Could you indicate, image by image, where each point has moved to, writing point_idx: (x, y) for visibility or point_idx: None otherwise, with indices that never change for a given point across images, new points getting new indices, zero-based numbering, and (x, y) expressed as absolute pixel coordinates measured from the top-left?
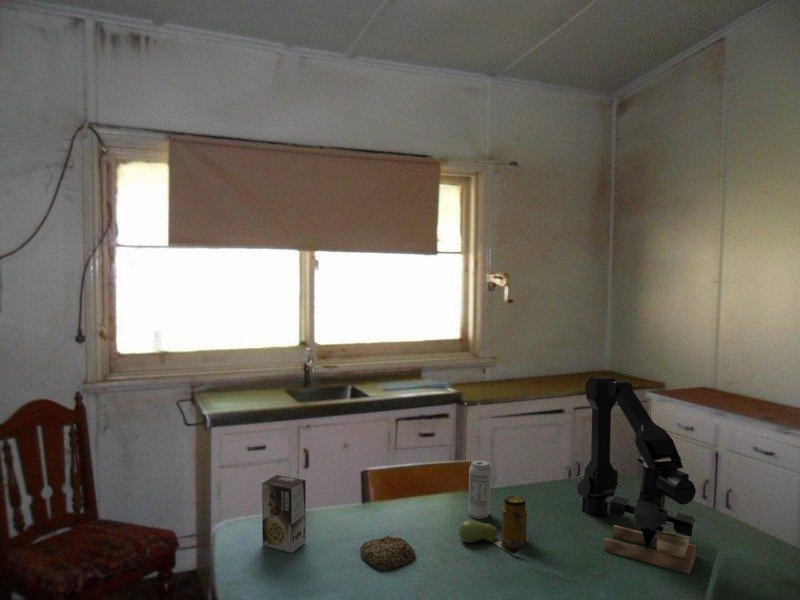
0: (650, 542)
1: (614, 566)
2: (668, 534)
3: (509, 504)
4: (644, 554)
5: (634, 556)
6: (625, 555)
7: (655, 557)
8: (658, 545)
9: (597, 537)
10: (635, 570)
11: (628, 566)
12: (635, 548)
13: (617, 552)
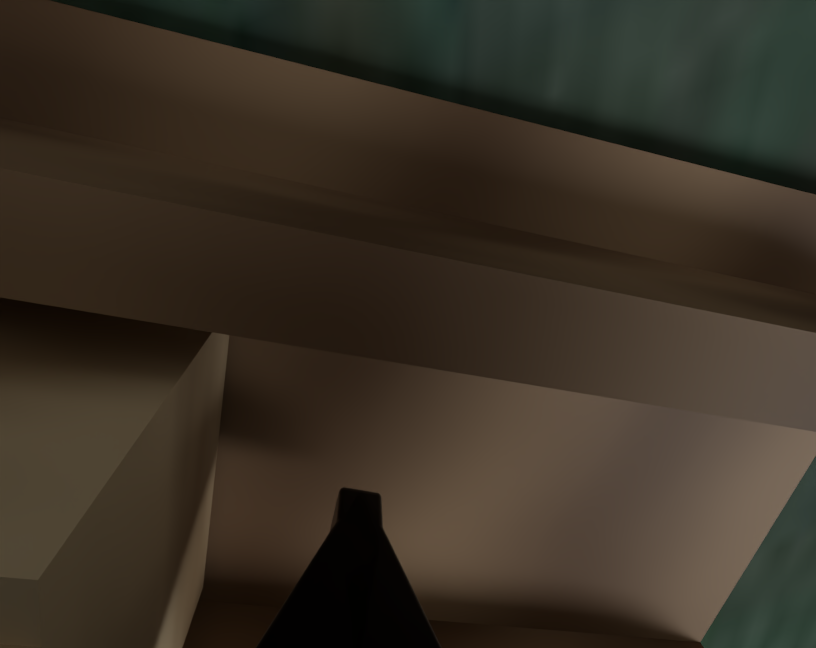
0: (306, 581)
1: (792, 37)
2: None
3: None
4: (414, 227)
5: (555, 244)
6: (665, 268)
7: (199, 184)
8: (77, 452)
9: (794, 623)
10: (517, 28)
11: (598, 121)
12: (607, 285)
13: (776, 293)
